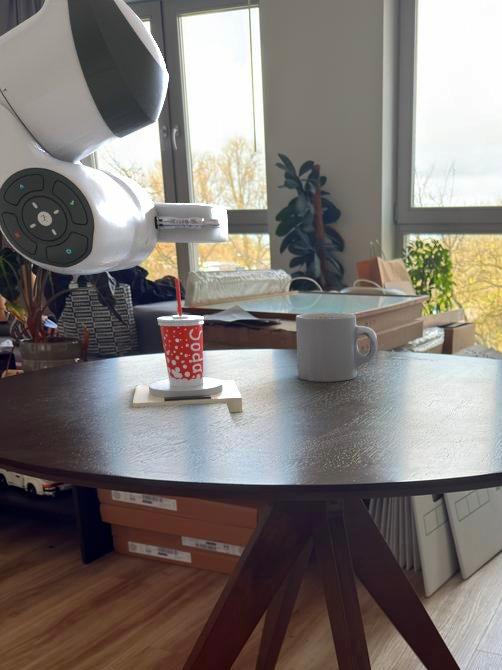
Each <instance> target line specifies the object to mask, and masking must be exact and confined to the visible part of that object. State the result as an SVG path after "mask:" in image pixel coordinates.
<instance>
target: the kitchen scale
mask: <svg viewBox="0 0 502 670" xmlns="http://www.w3.org/2000/svg"><path fill="white" fill-rule="evenodd" d="M132 399H133V400H132V408H143V407H159V406H160V407H161V406H178V405H195V404H214V403H215V404H216V403H225V404H226V407H227V409H228V412H229V413H242V412H243V411H244V409H243V398H242V395H241V393H240V391H239V389H238V387H237V385H236V383H235V381H234V380H231V379H229V380H220V379H218V378H212V377H204V384H202V385H199V386H192V387H175V386H171V385H170V382H169V378H166V379H162V380H157V381H153V382H151V383H150V384H149V383H147V384H136V385H135V390H134V394H133V398H132Z"/></svg>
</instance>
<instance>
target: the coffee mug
mask: <svg viewBox="0 0 502 670" xmlns="http://www.w3.org/2000/svg"><path fill="white" fill-rule="evenodd" d="M295 329H296V331H295V332H296V333H295V334H296V354H297V377H298V378H299V379H300V380H303V381H309V382H323V383H324V382H325V383H330V382H331V383H333V382H343V381H350V380H353V379H356V378H357V376H358V369H359V368H360V366H362V365H365V364H367V363H369V362H371V361H372V360H373V359H374V358H375V357H376V355H377V351H378V345H379V344H378V337H377V333H376V332H375V330H374V329H373V328H371V327H368V326H363V325H357V316H356V314H354V313H345V312H344V313H341V312H313V313H301V314H297V315H296V316H295ZM362 335H363V336H366V337H367V338H368V340H369V350H368V351H367V353H362V352H361V351H360V350H359V347H358V341H359V338H360V337H361V336H362Z"/></svg>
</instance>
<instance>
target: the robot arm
mask: <svg viewBox="0 0 502 670" xmlns="http://www.w3.org/2000/svg"><path fill="white" fill-rule="evenodd" d="M169 78H170V76H169V73H168V71H167V68H166V63H165V61H164V57H163V55H162V52H161V51H160V48H159V47H158V44H157V43H156V41H155V38H154V37H153V35H152V34H151V31H149V29H148V28H147V27H146V25H145V23H143V21H142V20H141V19H140V17H139V16H138V15H137V14H136V13H135V11H133V9H132V8H131V7H130V6H129V5H128V4H127V3H126V2H125V1H124V0H44V3H43V5H42V6H41V8H40V9H39V10H38V11H37V12H36V13H35V14H33V15H31V16H30V17H29V18H27V19H25V20H24V21H22V22H21V23H19V24H18V25H16V26H15V27H12V28H11V29H10V30H8V31H6V32H5V33H4V34H2V35H0V232H1V233H2V235H3V237H4V239H6V241H7V242H8V244H10V246H11V247H12V248H13V249H14V250H15V251H16V252H17V253H18V254H19V255H21V256H22V257H23V258H25V259H26V260H28V261H29V262H31V263H32V264H34V265H36V266H38V267H40V268H42V269H45V270H47V271H49V272H53V273H56V274H61V275H70V276H87V275H96V274H100V273H108V272H109V273H110V272H116V271H121V270H129V269H132V268H135V267H138V266H139V265H141V264H142V263H143V262H145V261H146V260H147V259H148V258H149V257H150V256H151V255H152V253H153V252H154V250H155V248H156V246H157V243H163V244H165V243H168V244H169V243H170V244H173V243H174V244H176V243H177V244H215V243H216V244H217V243H219V244H220V243H226V242H227V241H228V238H229V227H228V226H229V225H228V214H227V210H226V208H225V207H224V206H222V205H216V204H207V203H184V202H183V203H182V202H181V203H180V202H177V203H176V202H175V203H171V202H170V203H169V202H153V201H152V199H151V197H150V196H149V194H148V193H147V191H145V189H144V188H143V187H142V186H140V185H139V184H138V183H137V182H135V181H134V180H132V179H130V178H129V177H127V176H125V175H121V174H119V173H114V172H111V171H107V170H104V169H99V168H94V167H91V166H88V165H84V164H83V163H82V162H81V161H82V160H84V159H85V158H87V157H88V156H90V155H92V154H94V153H95V152H97V151H98V150H100V149H102V148H103V147H104V146H106V145H108V144H110V143H112V142H113V141H115V140H116V139H118V138H121V139H123V138H124V137H126V136H128V135H130V134H133V133H135V132H138V131H140V130H142V129H143V128H146V127H148V126H150V125H152V124H155V123H157V122H158V120H159V118H160V114H161V112H162V109H163V106H164V102H165V99H166V96H167V91H168V84H169Z"/></svg>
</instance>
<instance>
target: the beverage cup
mask: <svg viewBox="0 0 502 670" xmlns="http://www.w3.org/2000/svg"><path fill="white" fill-rule="evenodd" d="M174 282H175V283H174V285H175V293H176V304H177V313H178V314H174V315H166V316H164V315H163V316H159V317H157V318H156V322H157V325H158V326H159V327H160V329H159V330H160V334H161V339H162V345H163V352H164V357H165V363H166V370H167V376H168V379H169V382H170V385H171V386H175V387H192V386H199V385H202V384H204V378H205V377H204V372H205V371H204V343H203V342H204V341H203V325H204V324H205V322H204V319H205V317H204V316H201V315H192V314H190V315H189V314H183V309H182V299H181V288H180V279H179V278H175V277H174Z"/></svg>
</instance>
